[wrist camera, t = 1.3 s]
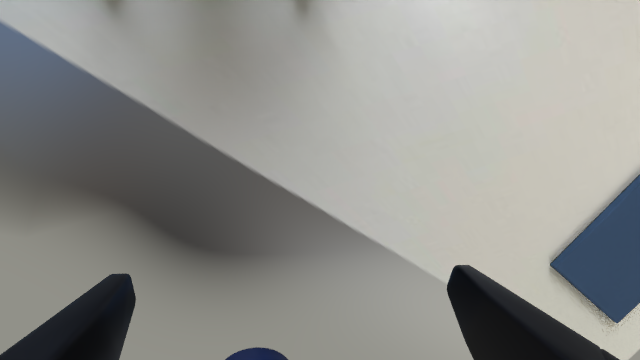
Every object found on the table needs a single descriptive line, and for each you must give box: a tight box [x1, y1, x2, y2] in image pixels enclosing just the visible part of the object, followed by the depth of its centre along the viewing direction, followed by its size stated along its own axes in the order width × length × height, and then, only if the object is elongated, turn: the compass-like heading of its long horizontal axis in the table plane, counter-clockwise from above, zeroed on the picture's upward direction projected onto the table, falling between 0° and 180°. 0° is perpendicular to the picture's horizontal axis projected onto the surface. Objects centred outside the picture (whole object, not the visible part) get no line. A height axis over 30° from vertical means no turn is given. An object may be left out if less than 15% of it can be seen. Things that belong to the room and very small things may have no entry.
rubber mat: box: [550, 175, 640, 323], centre depth 29 cm, size 11×11×1 cm
